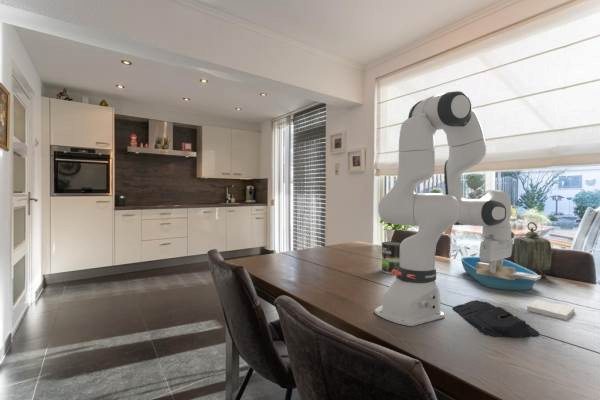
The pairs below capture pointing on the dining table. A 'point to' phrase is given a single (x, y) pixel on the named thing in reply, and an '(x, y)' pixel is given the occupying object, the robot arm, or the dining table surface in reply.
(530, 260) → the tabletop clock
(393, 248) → the coffee can
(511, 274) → the turner
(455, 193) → the robot arm
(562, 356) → the dining table surface
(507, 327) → the black folded cloth
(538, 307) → the tile
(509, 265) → the casserole dish
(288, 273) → the dining table surface
